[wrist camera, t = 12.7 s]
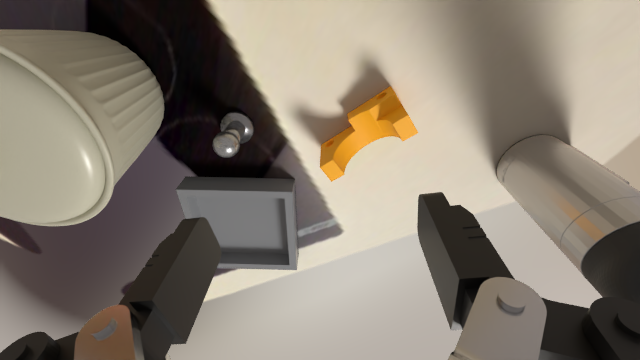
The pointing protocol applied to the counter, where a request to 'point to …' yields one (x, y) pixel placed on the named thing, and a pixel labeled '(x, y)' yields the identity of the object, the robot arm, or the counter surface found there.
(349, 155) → the pipe clamp
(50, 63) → the canister
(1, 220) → the counter surface
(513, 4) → the counter surface
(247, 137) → the door knob
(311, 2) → the counter surface
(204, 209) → the parts bin
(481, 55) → the counter surface
